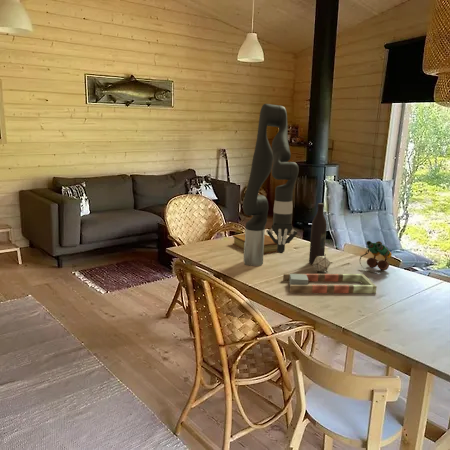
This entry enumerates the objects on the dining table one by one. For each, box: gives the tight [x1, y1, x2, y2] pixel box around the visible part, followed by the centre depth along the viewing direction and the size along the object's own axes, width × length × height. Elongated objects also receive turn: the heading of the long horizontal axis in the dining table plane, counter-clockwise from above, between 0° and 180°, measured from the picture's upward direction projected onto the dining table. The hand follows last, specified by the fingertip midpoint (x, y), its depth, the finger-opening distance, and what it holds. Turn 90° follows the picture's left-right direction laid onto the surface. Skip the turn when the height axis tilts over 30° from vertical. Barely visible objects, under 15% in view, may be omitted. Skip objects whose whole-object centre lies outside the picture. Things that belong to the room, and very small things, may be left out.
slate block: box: [288, 273, 309, 286], centre depth 186 cm, size 7×7×4 cm
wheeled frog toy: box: [359, 240, 393, 274], centre depth 209 cm, size 14×14×15 cm
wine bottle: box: [308, 202, 328, 265], centre depth 215 cm, size 7×7×30 cm
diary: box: [232, 233, 279, 255], centre depth 243 cm, size 23×19×6 cm
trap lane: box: [282, 273, 378, 294], centre depth 187 cm, size 36×15×3 cm, turn 94°
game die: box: [310, 253, 333, 274], centre depth 206 cm, size 9×8×10 cm
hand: (280, 252), depth 183 cm, fingers closed
